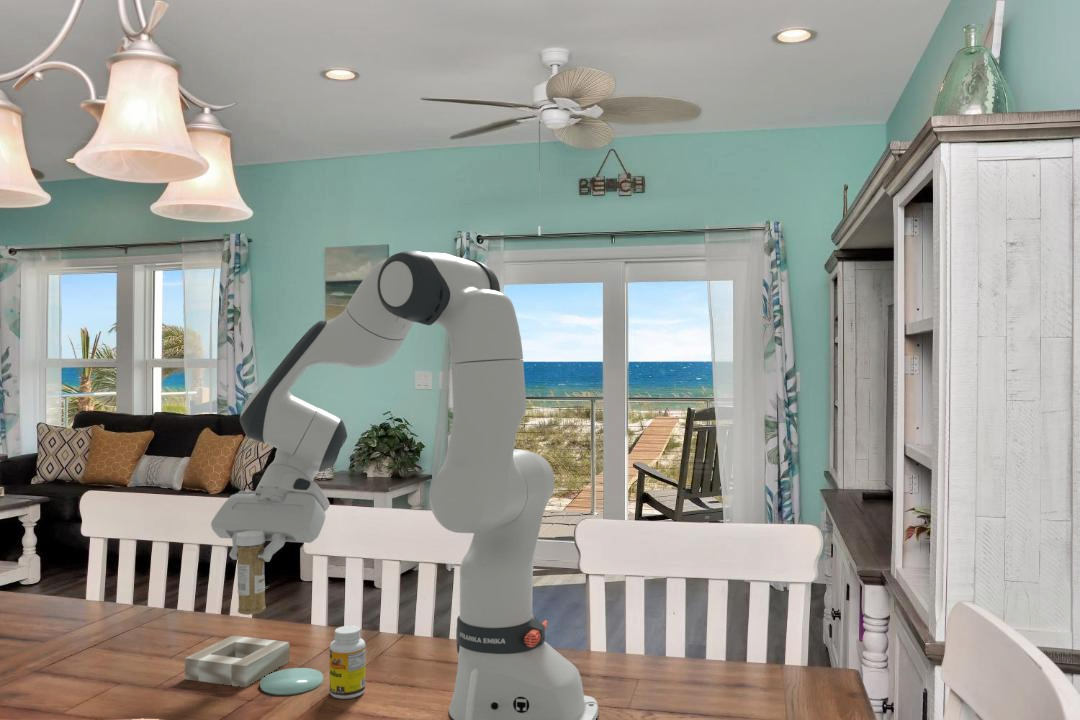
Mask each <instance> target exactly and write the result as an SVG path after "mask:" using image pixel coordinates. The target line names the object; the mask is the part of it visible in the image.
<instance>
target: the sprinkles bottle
mask: <svg viewBox="0 0 1080 720" xmlns="http://www.w3.org/2000/svg"><path fill="white" fill-rule="evenodd" d="M265 543H266V540H265V533H264V532H263V531H244V532H240V533H238V534H237V535H236V544H237V548H238V560H237V566H236V567H237V593H238V594H237V595H238V609H237V613H239V614H240V615H244V616H245V615H248V616H249V615H257V614H259V613H262V612H264V611H265V610H266V598H265V597H266V595H265V594H266V593H265V591H266V583H265V581H266V579H265V578H266V577H265V575H266V574H265V562H263V561H260V559H258V553H260V549H261V548H265V547H264V546H265Z"/></svg>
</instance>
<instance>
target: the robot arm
mask: <svg viewBox="0 0 1080 720" xmlns="http://www.w3.org/2000/svg"><path fill="white" fill-rule="evenodd" d="M516 314H517V313H516V311H515V306H514V304H513V302H512V300H511V299H510V298H509V297H508V296H507V295H506V294H504V293H503V292H501V287H500V282H499V279H498V277H497V274H495V272H494V271H493V270H492V269H491V268H490V267H488V266H487V265H486V264H484V263H482V262H480V261H477V260H475V259H465V258H463V257H460V256H455V255H452V254H449V253H444V252H434V251H430V252H429V251H426V252H425V251H423V252H422V251H420V250H407V251H406V250H405V251H400V252H398V253H395V254H393V255H390V256H389V257H388V258H387V259H383V260H381V261H379V262H378V263H376V264H375V265H374V266H373V267H372V268H371V270H369V272H368V273H367V275H366V276H365V277H364V278H363V279H362V281H361V282H360V283H359V285H358V287H357V289H356V290H355V292H354V293H353V294H352V296H351V298H350V300H349V302H348V303H347V305H346V307H345V309H344V310H342V312H341V313H339V315H337V316H336V317H334V318H332V319H329V320H319V321H318V322H316V323H315V324H313V325H312V326H311V327H310V328H309V329H308V330H307V331H306V332H305V334H303V336H302V337H301V338H300V339H299V340H298V342H296V344H295V345H294V346H293V348H292V349H291V350H290V351H289V352H288V353H287V355H286V356H285V357H284V358H283V359H282V361H281V362H280V363H279V365H278V366H277V367H276V368H275V369H274V371H273V372H272V373H271V375H270V376H269V378H268V379H267V380H266V381H264V383H263V384H262V385H261V386H260V387H258V389H256V391H254V392H253V393H252V394H251V395H250V396H249V397H248V398H247V400H246V402H245V404H243V406H242V409H241V411H240V415H239V422H240V425H241V429H242V430H243V432H244V434H245V436H246V437H247V438H249V439H252V440H253V441H256V442H260V443H262V444H266V445H269V446H270V447H273V448H275V449H276V451H275V454H274V456H275V457H274V459H273V461H272V462H271V463H270V464H269V465H268V466H267V467H266V469H265V471H264V473H263V475H262V476H261V479H260V481H259V483H258V484H257V486H256V489H255V490H250V491H249V490H248V491H247V490H239V491H238V492H236V493H234V494H231V495H230V496H229V497H228V498H227V500H226V501H225V502H224V503H223V504H222V505H221V507H220V508H219V510H218V511H217V513H215V515H214V517H213V519H212V520H211V522H210V524H211V525H210V527H211V529H212V531H213V532H214V533H215V535H216V536H218V537H219V538H220V539H232V540H231V541H232V548H231V550H230V552H229V557H230V558H231V559H232V560H234V561H235V560H236V561H238V548H237V544H236V535H237V534H238V533H240V532H244V531H263V532H264V533H265V542H266V541H268V542H269V541H270V543H269V544H268V545H266V546H265V547H264V548H261V549H260V553H258V559H260V561H263V562H264V563H266V562H267V563H268V562H270V561H271V559H272V558H273V555H275V554H276V553H277V552H278V551H279V550H280V549H282V548H283V547H284V545H285V544H286V542H288V543H289V542H290V543H307V544H311V543H312V542H315V540H316V539H318V537H319V536H320V534H321V531H322V529H323V526H324V523H325V520H326V516H327V515H326V511H328V509H329V507H330V505H331V504H330V501H329V499H328V497H327V496H326V493H325V492H324V491H323V489H322V488H321V487H320V486H319V485H318V483H317V482H315V478H316V476H317V475H318V474H319V473H320V472H324V471H326V470H328V469H330V468H333V466H334V465H335V463H336V462H337V459H338V458H339V457H338V456H339V454H340V451H341V448H342V447H344V445H345V443H346V440H347V438H348V432H347V428H346V425H345V423H344V420H343V419H341V418H340V417H338V416H336V415H335V414H333V413H331V412H329V411H327V410H325V409H323V408H321V407H318V406H315V405H313V404H312V403H309V402H307V401H306V400H303V399H301V398H300V397H297V396H295V395H294V394H292V393H291V392H290V390H291V388H292V387H293V386H294V384H295V383H296V382H297V381H298V380H299V378H300V377H301V376H302V375H303V374H304V372H306V370H307V369H309V368H311V367H312V366H314V365H321V364H323V365H325V364H326V365H328V364H329V365H337V366H339V365H340V366H346V367H350V368H351V367H352V368H357V369H359V368H361V369H363V368H373V367H377V366H380V365H382V364H385V363H387V362H388V361H390V360H391V359H392V357H394V355H395V354H396V353H397V351H398V350H399V348H400V347H401V345H403V342H404V341H405V339H406V338H407V336H408V333H409V332H410V331H411V328H412V326H413V325H414V323H417V324H421V325H426V326H432V325H433V324H437V325H440V326H441V327H443V329H444V331H446V333H447V335H448V339H449V347H450V350H449V351H450V368H451V385H452V388H451V389H452V407H453V408H452V424H451V431H450V436H449V441H448V446H447V450H446V452H445V453H446V454H445V457H444V461H443V463H442V466H441V468H440V470H439V471H438V473H437V474H436V475H435V477H434V478H433V480H432V483H431V485H430V489H429V506H430V508H431V509H430V510H431V512H432V514H433V516H434V518H435V519H436V521H437V522H438V523H439V524H440V526H442V527H443V528H445V530H447V531H449V532H453V533H457V534H458V533H459V534H473V536H472V539H471V543H470V545H469V548H468V550H467V552H466V553H465V555H464V557H463V559H462V560H461V563H460V567H459V615H458V617H457V619H456V630H455V631H456V633H455V641H456V652H457V654H458V657H457V668H456V676H455V683H454V688H453V693H452V699H451V702H450V703H449V704H450V705H449V708H448V714H449V715H450V717H451V719H453V720H596V718H597V719H598V717H599V712H598V711H599V703H598V702H597V700H596V699H595V698H594V696H590V695H585V693H584V689H583V688H584V687H583V681H582V677H581V674H580V672H579V670H578V668H577V667H576V666H575V664H573V663H572V662H570V661H569V660H568V659H566V658H565V657H564V656H563V655H562V654H561V653H560V652H558V651H557V650H555V649H554V648H553V646H551V645H550V644H549V643H548V642H546V629H547V628H548V625H547V624H548V620H547V619H545V620H543V622H541V621H540V620H539V619H538V618H537V617H536V616H535V614H533V589H534V587H533V581H534V580H533V579H534V577H533V576H534V562H535V557H536V556H535V554H536V549H537V543H538V540H539V539H538V538H539V535H540V531H541V526H542V522H543V517H544V514H545V511H546V508H547V505H548V503H549V501H550V499H551V498H552V495H553V494H554V491H555V484H556V483H555V482H556V481H555V480H556V479H555V474H554V470H553V468H552V466H551V464H550V463H549V462H548V461H547V459H545V457H544V456H542V455H540V454H539V453H536V452H533V451H530V450H525V449H518V448H515V446H516V445H515V443H516V440H517V439H516V438H517V434H518V430H519V426H520V424H521V421H522V420H523V418H524V417H525V415H526V411H527V398H526V396H527V394H526V382H525V367H524V355H523V352H524V351H523V345H522V338H521V337H522V336H521V333H520V327H519V322H518V319H517V315H516ZM597 716H598V717H597Z"/></svg>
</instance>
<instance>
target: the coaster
mask: <svg viewBox="0 0 1080 720" xmlns="http://www.w3.org/2000/svg"><path fill="white" fill-rule="evenodd" d="M323 682H324V674H323V673H322V672H321V671H320V670H317V669H314V668H311V667H310V668H309V667H308V668H307V667H293V668H285V669H280V670H277V671H276V670H275V671H273V672H272V673H270V674H268V675H266V676H265V677H263V678H261V679H260V681H259V689H260V688H261V689H260V690H261V691H262V692H263V693H266V694H269V695H275V696H288V695H289V696H290V695H291V696H292V695H297V694H302V693H306V692H309V691H312V690H314V689H316V688H318V687H320V686H321V685H322V684H323Z"/></svg>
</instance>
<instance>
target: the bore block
mask: <svg viewBox="0 0 1080 720" xmlns="http://www.w3.org/2000/svg"><path fill="white" fill-rule="evenodd" d="M288 662H289V663H290V642H289V641H282V640H276V639H267V638H258V637H249V636H240V635H231V636H228V637H226V638H224V639H221V640H219V641H218V642H215V643H214V644H211V645H210V646H207V647H205V648H203V649H201V650H198V651H196V652H195V653H193V654H191V655H189V656H186V657H184V680H188V681H195V682H203V683H210V684H217V685H223V684H224V685H225V686H230V685H232V686H231V687H238V686H240V687H239V688H245V687H246V688H248V687H250V686H251V685H253V684H255V683H256V682H258V681H259V679H260V680H262V678H264V676H267V675H268V674H269V673H270V674H271V672H272V673H273V672H275V671H276V669H277V670H278V669H280V668H281V666H282V667H283V666H285V665H287V664H289V663H288ZM279 667H280V668H279ZM274 670H275V671H274ZM257 680H258V681H257ZM255 681H256V682H255ZM252 683H253V684H252ZM250 684H251V685H250ZM247 686H248V687H247Z"/></svg>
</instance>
